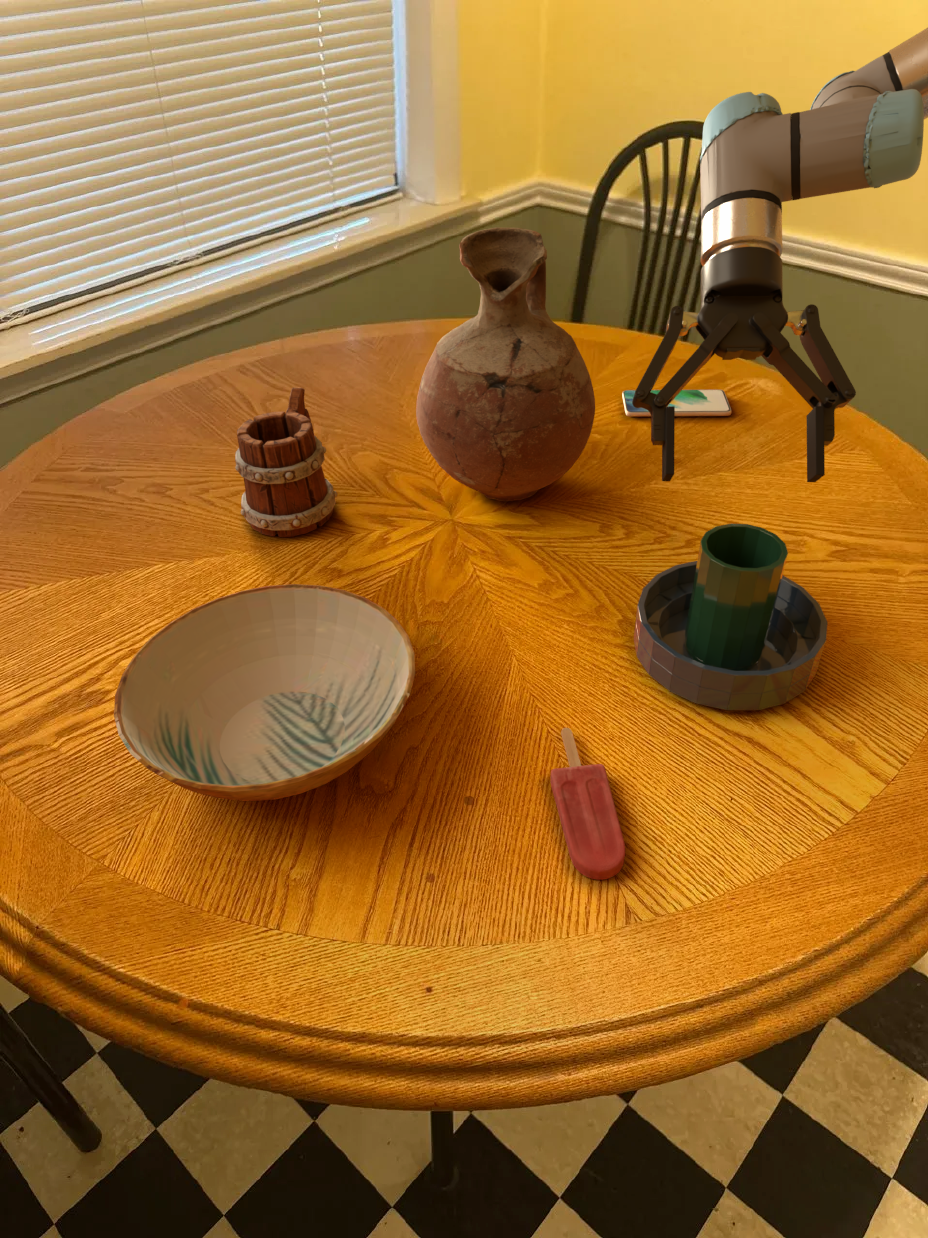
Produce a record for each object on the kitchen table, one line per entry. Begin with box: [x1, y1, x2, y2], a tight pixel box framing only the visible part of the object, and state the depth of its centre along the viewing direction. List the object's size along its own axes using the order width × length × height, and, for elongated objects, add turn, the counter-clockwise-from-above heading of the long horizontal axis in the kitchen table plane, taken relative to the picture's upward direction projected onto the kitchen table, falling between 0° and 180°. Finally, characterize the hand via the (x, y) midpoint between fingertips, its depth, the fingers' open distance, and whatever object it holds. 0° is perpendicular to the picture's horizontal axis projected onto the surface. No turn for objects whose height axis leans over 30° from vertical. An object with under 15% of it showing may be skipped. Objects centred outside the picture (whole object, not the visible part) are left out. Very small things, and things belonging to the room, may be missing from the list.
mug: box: [234, 387, 338, 538], centre depth 104 cm, size 12×14×15 cm
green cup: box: [684, 523, 789, 671], centre depth 80 cm, size 7×7×12 cm
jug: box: [415, 226, 596, 502], centre depth 102 cm, size 22×22×30 cm
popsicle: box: [550, 727, 626, 881], centre depth 71 cm, size 4×2×15 cm
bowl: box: [113, 583, 416, 802], centre depth 75 cm, size 25×25×8 cm
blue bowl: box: [633, 560, 828, 711], centre depth 83 cm, size 17×17×5 cm
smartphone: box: [621, 388, 732, 417], centre depth 125 cm, size 7×1×15 cm
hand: (741, 478), depth 81 cm, fingers open, 13 cm apart
